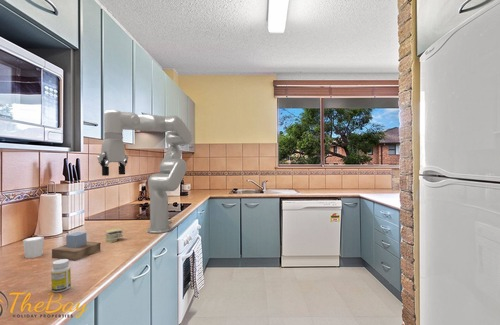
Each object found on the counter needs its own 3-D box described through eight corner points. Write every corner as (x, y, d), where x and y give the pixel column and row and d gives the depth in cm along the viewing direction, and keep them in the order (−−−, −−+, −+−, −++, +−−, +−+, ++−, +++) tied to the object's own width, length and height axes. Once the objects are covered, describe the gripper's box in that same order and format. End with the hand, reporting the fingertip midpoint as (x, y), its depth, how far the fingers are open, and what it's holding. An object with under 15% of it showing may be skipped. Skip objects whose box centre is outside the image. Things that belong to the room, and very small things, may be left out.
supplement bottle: (62, 284, 84) (62, 257, 84) (74, 286, 83) (74, 259, 83) (47, 291, 80) (47, 263, 80) (59, 293, 78) (59, 264, 78)
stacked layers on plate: (111, 245, 124) (111, 233, 124) (98, 243, 128) (98, 231, 128) (129, 239, 133) (129, 228, 133) (117, 237, 137) (116, 226, 137)
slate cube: (77, 243, 115) (76, 232, 115) (86, 244, 114) (86, 232, 114) (66, 247, 110) (66, 235, 110) (76, 248, 109) (76, 235, 109)
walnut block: (78, 249, 119) (78, 240, 119) (100, 252, 116) (100, 242, 116) (51, 259, 108) (51, 249, 108) (75, 262, 104) (75, 251, 104)
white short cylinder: (27, 253, 113) (26, 237, 113) (46, 251, 115) (46, 235, 115) (19, 259, 106) (19, 241, 106) (40, 257, 109) (40, 239, 109)
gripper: (120, 139, 133) (121, 174, 133) (91, 136, 116) (91, 176, 116) (133, 138, 130) (134, 174, 130) (104, 135, 114) (105, 176, 114)
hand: (114, 175), depth 123 cm, fingers open, 9 cm apart
